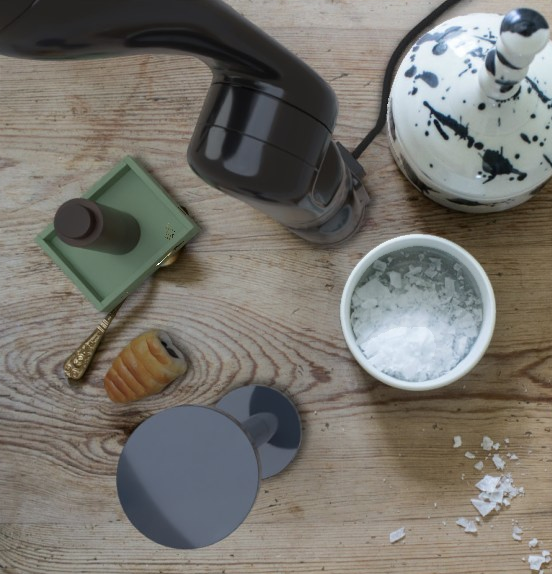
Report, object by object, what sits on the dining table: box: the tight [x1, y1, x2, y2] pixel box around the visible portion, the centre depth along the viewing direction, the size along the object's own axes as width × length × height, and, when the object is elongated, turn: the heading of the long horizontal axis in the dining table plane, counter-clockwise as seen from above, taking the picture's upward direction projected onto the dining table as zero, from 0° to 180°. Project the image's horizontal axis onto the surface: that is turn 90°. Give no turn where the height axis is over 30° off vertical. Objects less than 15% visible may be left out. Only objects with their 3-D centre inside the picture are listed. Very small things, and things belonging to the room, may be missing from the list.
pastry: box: [103, 328, 188, 405], centre depth 71 cm, size 9×7×4 cm
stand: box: [115, 383, 303, 550], centre depth 62 cm, size 12×12×21 cm
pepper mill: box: [53, 197, 141, 255], centre depth 68 cm, size 5×5×10 cm
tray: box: [33, 154, 202, 313], centre depth 72 cm, size 15×12×2 cm
